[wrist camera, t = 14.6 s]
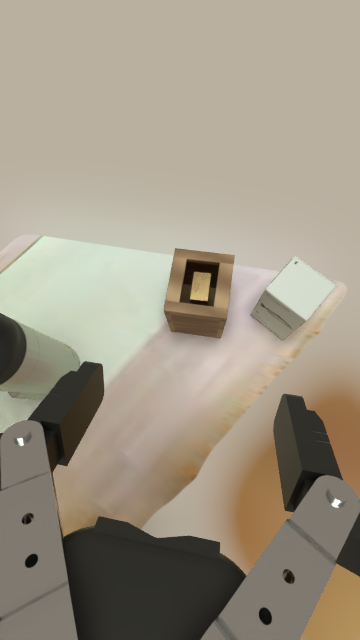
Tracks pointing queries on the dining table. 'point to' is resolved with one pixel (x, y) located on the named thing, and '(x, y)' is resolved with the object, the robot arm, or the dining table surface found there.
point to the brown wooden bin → (180, 286)
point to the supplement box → (292, 297)
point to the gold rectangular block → (200, 288)
